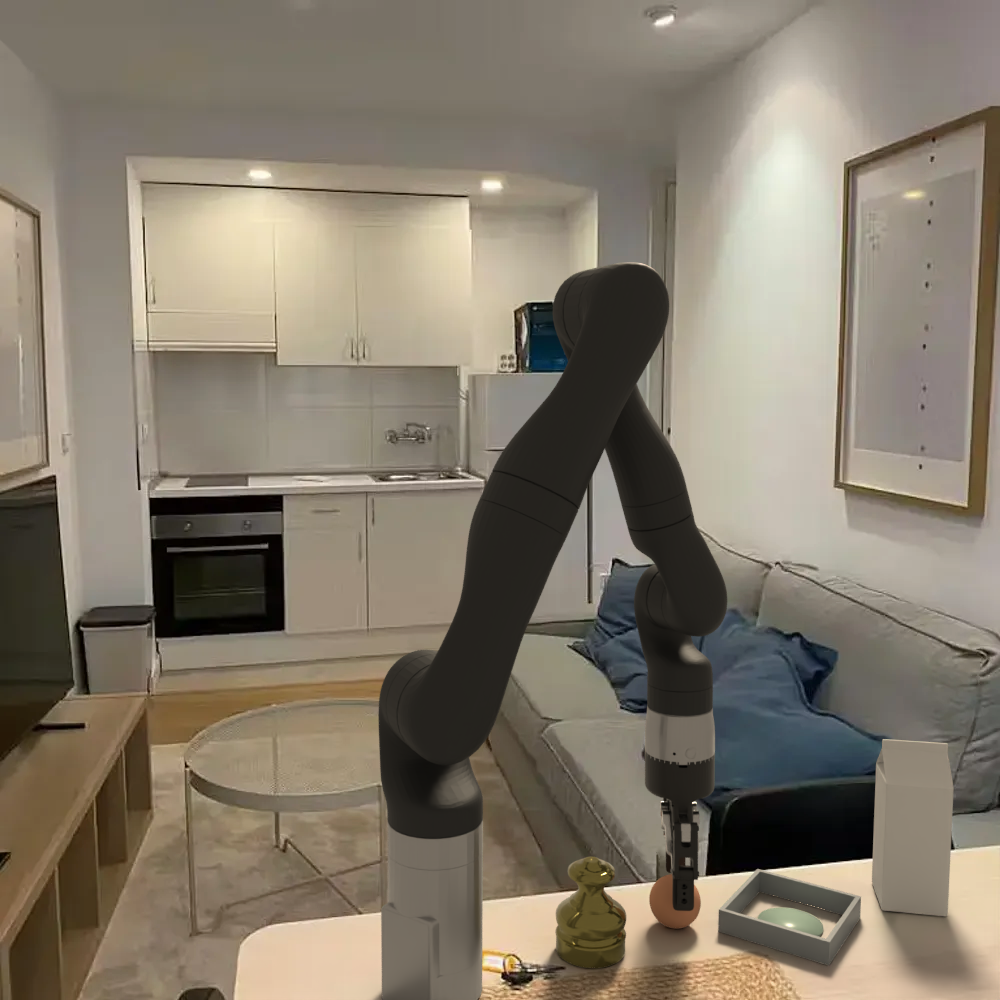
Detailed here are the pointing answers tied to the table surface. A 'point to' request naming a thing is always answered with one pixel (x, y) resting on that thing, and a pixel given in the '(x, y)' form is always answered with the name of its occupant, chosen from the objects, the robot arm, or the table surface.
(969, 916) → the table surface
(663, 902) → the ball
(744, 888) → the grey soap tray
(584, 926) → the olive green chess piece
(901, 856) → the milk carton
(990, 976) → the table surface
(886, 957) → the table surface
